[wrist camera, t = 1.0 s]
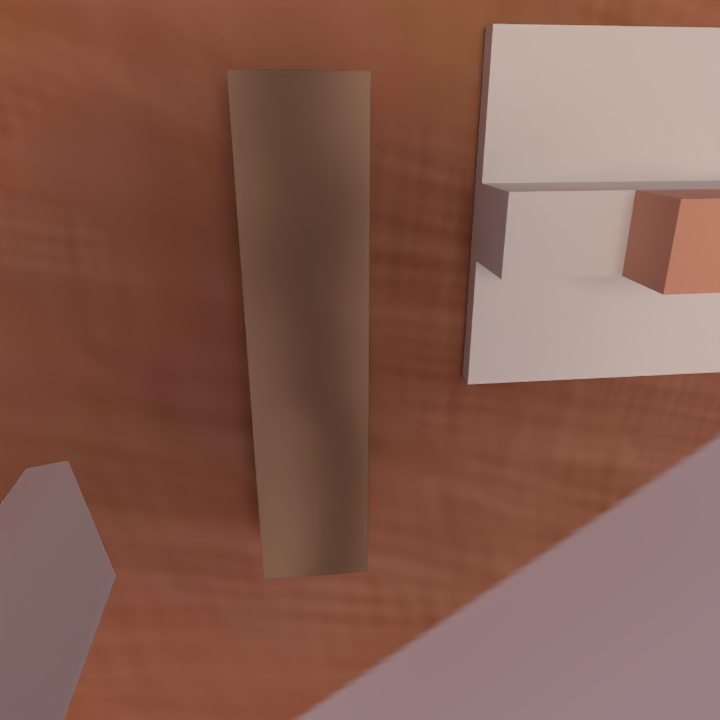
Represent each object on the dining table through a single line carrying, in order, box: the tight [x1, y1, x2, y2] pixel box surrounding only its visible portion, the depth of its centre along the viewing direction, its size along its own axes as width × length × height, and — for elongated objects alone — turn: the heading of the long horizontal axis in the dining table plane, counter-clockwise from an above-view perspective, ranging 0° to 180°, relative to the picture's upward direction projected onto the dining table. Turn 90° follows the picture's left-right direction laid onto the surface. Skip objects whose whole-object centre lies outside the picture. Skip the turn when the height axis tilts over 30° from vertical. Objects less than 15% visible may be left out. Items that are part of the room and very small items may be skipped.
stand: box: [462, 24, 720, 384], centre depth 26 cm, size 14×16×8 cm
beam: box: [227, 70, 371, 579], centre depth 27 cm, size 5×22×5 cm, turn 0°
